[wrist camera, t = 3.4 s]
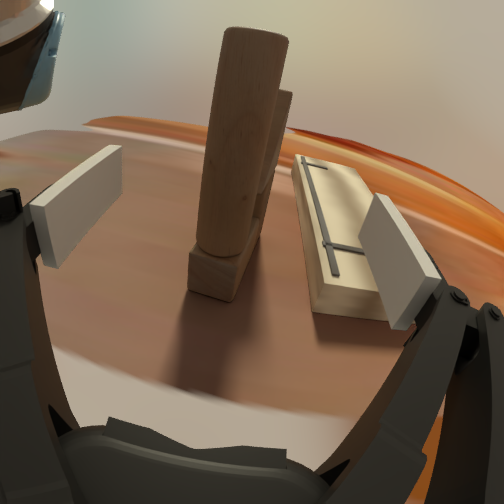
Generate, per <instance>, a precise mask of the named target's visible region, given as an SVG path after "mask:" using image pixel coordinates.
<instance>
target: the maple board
mask: <svg viewBox="0 0 504 504" xmlns="http://www.w3.org/2000/svg"><path fill="white" fill-rule="evenodd" d="M291 173H292V178H293V184H294V190H295V196H296V202H297V208H298V214H299V221H300V227H301V234H302V241H303V248H304V255H305V262H306V269H307V277H308V284H309V292H310V300H311V309H312V312H317V313H324V314H332V315H340V316H347V317H356V318H364V319H373V320H382V321H388V317H387V314H386V311H385V308H384V305H383V302H382V300H381V297H380V294H379V291H378V288H377V285H376V283H375V280H374V277H373V274H372V272H371V269H370V266H369V264H368V261H367V259H366V256H365V253H364V251H363V248H362V246H361V243H360V241H359V238H358V235H359V232H360V230H361V227H362V225H363V222H364V220H365V217H366V215H367V212H368V210H369V207H370V205H371V202H372V200H373V197H374V196H373V195H372V193H371V192H370V190H369V189H368V187H367V186H366V184H365V183H364V182H363V180H362V179H361V177H360V176H359V174H358V173H357V171H356V170H355V169H354V168H350V167H346V166H343V165H339V164H335V163H331V162H327V161H323V160H319V159H315V158H310V157H306V156H302V155H297V154H295V158H294V162H293V166H292V170H291ZM412 324H416V323H415V320H414V321H413V322H412Z"/></svg>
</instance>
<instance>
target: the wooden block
mask: <svg viewBox="0 0 504 504" xmlns="http://www.w3.org/2000/svg"><path fill="white" fill-rule="evenodd" d="M288 44H289V41H288V38H287V37H285V36H283V35H282V34H279V33H276V32H272V31H268V30H263V29H258V28H251V27H229V28H227V29H226V30H225V32H224V36H223V41H222V46H221V52H220V58H219V63H218V69H217V75H216V81H215V87H214V93H213V100H212V106H211V113H210V120H209V127H208V134H207V141H206V149H205V157H204V165H203V174H202V182H201V191H200V201H199V211H198V221H197V232H196V240H197V243H196V244H195V245H194V247H193V248H192V250H191V251H190V253H189V264H188V282H187V287H188V289H189V290H191V291H195V292H198V293H201V294H204V295H207V296H210V297H213V298H217V299H220V300H223V301H226V302H231V301H232V300H233V298H234V296H235V294H236V291H237V289H238V286H239V284H240V281H241V279H242V277H243V274H244V272H245V269H246V267H247V264H248V262H249V260H250V257H251V255H252V252H253V249H254V247H255V245H256V243H257V240H258V238H259V235H260V233H261V230H262V225H263V221H264V217H265V212H266V208H267V204H268V199H269V195H270V190H271V186H272V182H273V177H274V173H275V168H276V166H277V162H278V157H279V153H280V149H281V144H282V140H283V135H284V131H285V127H286V122H287V118H288V113H289V109H290V104H291V100H292V92H290V91H286V90H281V89H279V86H280V81H281V77H282V72H283V67H284V62H285V58H286V53H287V49H288Z"/></svg>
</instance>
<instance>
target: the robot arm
mask: <svg viewBox="0 0 504 504" xmlns="http://www.w3.org/2000/svg"><path fill="white" fill-rule="evenodd" d="M64 19H65V13H63V12H58V11H55V12H53V0H0V114H3V113H7V112H12V111H19V110H22V109H23V108H26V107H29V106H33V105H37V104H40V103H42V102H43V101H45V100H46V99H47V98H48V96H49V95H50V92H51V87H52V79H53V73H54V66H55V61H56V55H57V50H58V45H59V41H60V36H61V32H62V28H63V23H64ZM121 194H122V146H117V145H108V146H107V147H105V148H104V149H102V150H101V151H99V152H98V153H96V154H95V155H93V156H92V157H90V158H89V159H87V160H86V161H84V162H83V163H82V164H80V165H79V166H77V167H76V168H75V169H73V170H72V171H70V172H69V173H68V174H66V175H65V176H64V177H62V178H61V179H60V180H58V181H57V182H56V183H54V184H52V185H50V186H48V187H47V188H46V189H45V190H43V191H42V192H41V193H39V194H38V195H37V197H35V198H33V199H32V200H31V201H30V202H29V203H27V204H26V205H25V206H24V207H22V202H21V197H20V192H19V190H18V189H16V188H9V189H5V190H2V191H0V504H404V503H405V502H406V500H407V498H408V497H409V495H410V493H411V491H412V489H413V488H414V485H415V484H416V482H417V480H418V479H419V477H420V475H421V472H422V470H423V469H424V467H425V464H426V461H427V456H426V455H425V454H424V453H422V448H423V446H424V443H425V441H426V439H427V437H428V435H429V433H430V430H431V428H432V426H433V424H434V421H435V419H436V417H437V414H438V412H439V409H440V407H441V404H442V402H443V399H444V396H445V394H446V398H445V407H444V414H443V422H442V428H441V435H440V440H439V445H438V450H437V455H436V460H435V464H434V469H433V473H432V477H431V481H430V485H429V488H428V492H427V495H426V499H425V502H424V504H504V317H503V315H502V313H501V311H500V309H498V307H496V306H494V305H493V304H491V303H484V304H483V306H482V307H481V309H480V310H477V309H474V308H472V307H470V302H469V300H468V298H467V296H466V295H465V294H464V293H463V292H462V291H461V290H460V289H458V288H456V287H454V286H449V285H448V283H447V282H446V280H445V278H444V276H443V275H442V273H441V271H440V270H439V269H438V266H437V265H436V263H435V261H434V260H433V258H432V256H431V255H430V254H429V253H428V252H427V251H426V250H425V249H424V248H423V247H422V245H421V244H420V242H419V241H418V239H417V238H416V236H415V235H414V233H413V232H412V230H411V229H410V227H409V226H408V224H407V223H406V221H405V220H404V218H403V217H402V215H401V214H400V212H399V211H398V210H397V208H396V207H395V205H394V204H393V203H392V201H391V200H390V198H389V197H388V196H386V195H382V194H379V193H375V194H374V197H373V200H372V202H371V205H370V207H369V210H368V212H367V215H366V217H365V220H364V222H363V225H362V227H361V230H360V232H359V235H358V238H359V241H360V243H361V246H362V248H363V251H364V253H365V256H366V259H367V261H368V264H369V266H370V269H371V272H372V274H373V277H374V280H375V283H376V285H377V288H378V291H379V294H380V297H381V300H382V302H383V305H384V308H385V311H386V314H387V317H388V321H389V324H390V327H391V329H394V330H405V331H407V329H408V328H409V327H410V325H411V324H412V322H413V321H414V320H415V323H416V326H417V328H416V330H415V331H414V332H413V333H412V335H411V336H410V337H409V339H408V340H407V341H406V342H405V344H404V345H403V346H404V347H405V348H404V350H403V352H402V353H401V355H400V357H399V359H398V360H397V362H396V364H395V366H394V367H393V369H392V371H391V372H390V374H389V375H388V377H387V379H386V380H385V382H384V383H383V385H382V387H381V388H380V390H379V391H378V393H377V394H376V396H375V397H374V399H373V400H372V402H371V403H370V405H369V406H368V408H367V409H366V411H365V412H364V413H363V415H362V416H361V418H360V419H359V420H358V422H357V423H356V425H355V426H354V427H353V429H352V430H351V431H350V433H349V434H348V435H347V436H346V438H345V439H344V440H343V442H342V443H341V444H340V446H339V447H338V448H337V449H336V450H335V452H334V453H333V454H332V455H331V456H330V457H329V458H328V459H327V460H326V461H325V462H324V463H323V464H322V465H321V466H320V467H319V468H318V469H317V470H316V471H314V472H313V471H312V470H311V469H309V468H307V467H305V466H304V465H302V464H299V463H297V462H295V461H292V460H290V459H286V449H276V448H263V447H252V446H234V447H224V448H212V449H193V448H189V447H187V446H185V445H183V444H181V443H178V442H176V441H174V440H172V439H170V438H168V437H166V436H164V435H162V434H160V433H158V432H156V431H154V430H152V429H150V428H146V427H142V426H138V425H135V424H132V423H128V422H124V421H122V420H118V419H115V418H112V417H109V418H108V421H107V424H106V426H104V425H98V426H87V427H82V428H80V426H79V424H78V422H77V421H76V419H75V417H74V415H73V413H72V411H71V409H70V407H69V404H68V401H67V398H66V395H65V392H64V389H63V386H62V382H61V379H60V376H59V372H58V369H57V365H56V362H55V358H54V354H53V350H52V346H51V342H50V337H49V333H48V328H47V323H46V318H45V313H44V308H43V302H42V296H41V289H40V282H39V274H38V266H37V263H36V258H37V257H38V255H39V254H40V253H41V257H42V260H43V264H44V265H45V266H49V267H52V268H56V269H58V268H59V267H60V266H61V265H62V263H63V262H64V261H65V259H66V258H67V257H68V256H69V254H70V253H71V252H72V251H73V249H74V248H75V247H76V246H77V244H78V243H79V242H80V241H81V240H82V238H83V237H84V236H85V235H86V234H87V232H88V231H89V230H90V229H91V228H92V227H93V225H94V224H95V223H96V222H97V221H98V220H99V219H100V217H101V216H102V215H103V214H104V213H105V212H106V211H107V210H108V208H109V207H110V206H111V205H112V204H113V203H114V202H115V201H116V200H117V199H118V198H119V197H120V196H121Z"/></svg>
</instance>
